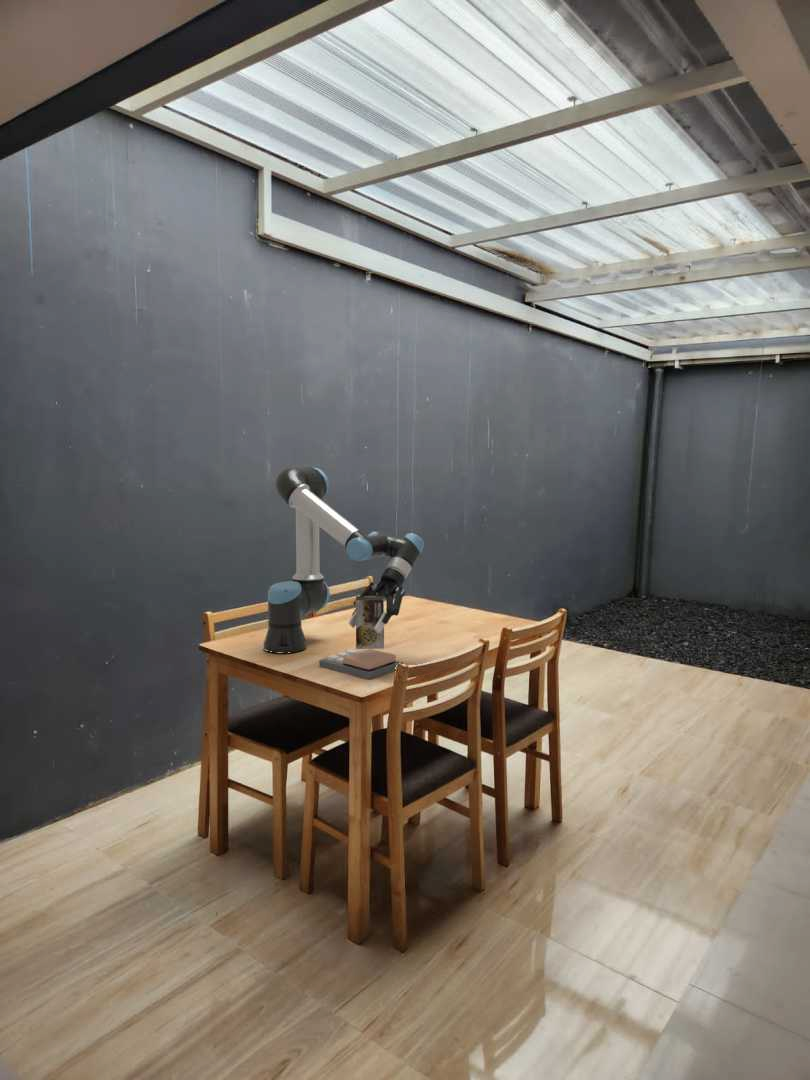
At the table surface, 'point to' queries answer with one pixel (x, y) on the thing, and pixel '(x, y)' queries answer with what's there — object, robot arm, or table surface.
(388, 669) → the keypad
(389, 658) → the reddish brown flat slab
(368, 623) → the coffee box
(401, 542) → the robot arm
